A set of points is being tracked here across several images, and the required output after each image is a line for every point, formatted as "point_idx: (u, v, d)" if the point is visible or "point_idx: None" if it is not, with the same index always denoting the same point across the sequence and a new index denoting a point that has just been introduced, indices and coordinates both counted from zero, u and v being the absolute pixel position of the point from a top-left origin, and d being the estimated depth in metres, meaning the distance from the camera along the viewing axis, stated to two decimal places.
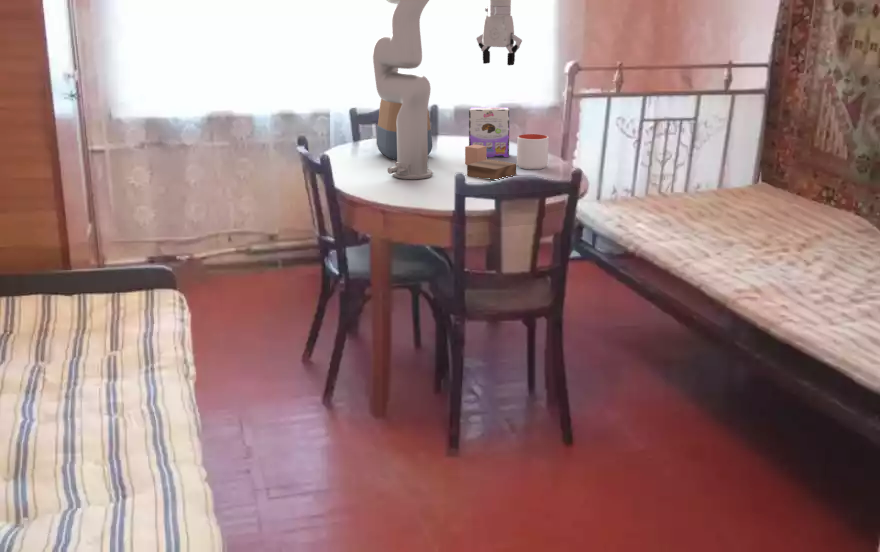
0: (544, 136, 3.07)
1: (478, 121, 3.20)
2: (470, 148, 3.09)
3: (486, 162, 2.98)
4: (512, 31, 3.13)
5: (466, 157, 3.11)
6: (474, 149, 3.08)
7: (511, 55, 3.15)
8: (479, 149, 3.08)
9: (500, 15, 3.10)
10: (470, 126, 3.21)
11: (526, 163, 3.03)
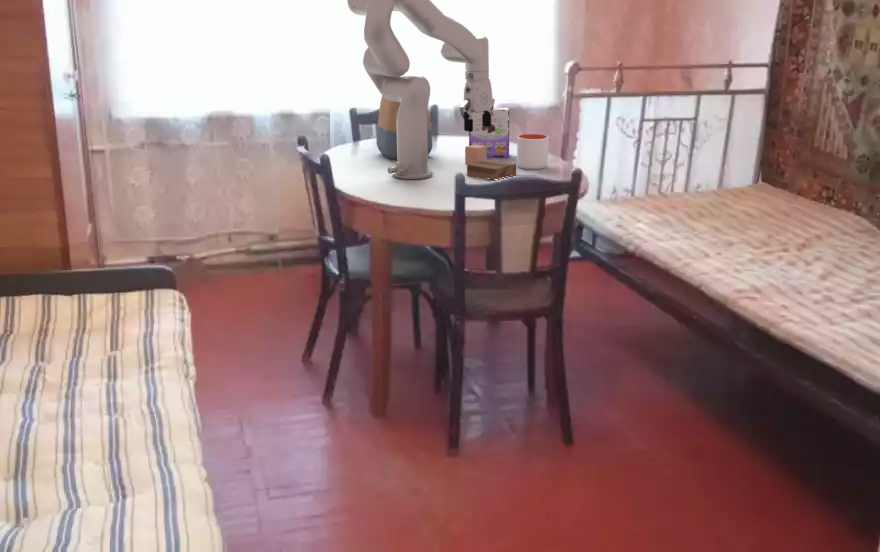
0: (544, 136, 3.07)
1: (478, 121, 3.20)
2: (470, 148, 3.09)
3: (486, 162, 2.98)
4: None
5: (466, 157, 3.11)
6: (474, 149, 3.08)
7: None
8: (479, 149, 3.08)
9: (488, 78, 3.04)
10: None
11: (526, 163, 3.03)
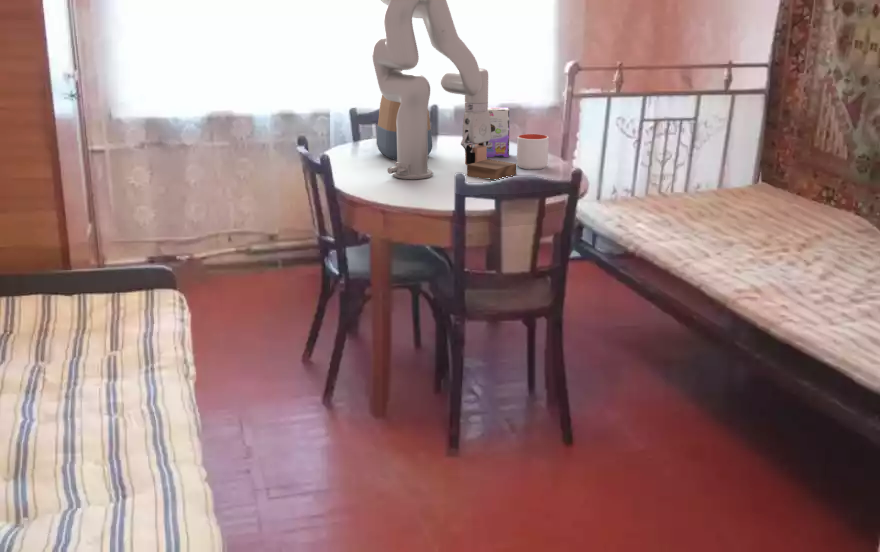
0: (544, 136, 3.07)
1: None
2: None
3: (486, 162, 2.98)
4: None
5: None
6: (474, 149, 3.08)
7: None
8: (479, 149, 3.08)
9: (487, 110, 3.07)
10: None
11: (526, 163, 3.03)
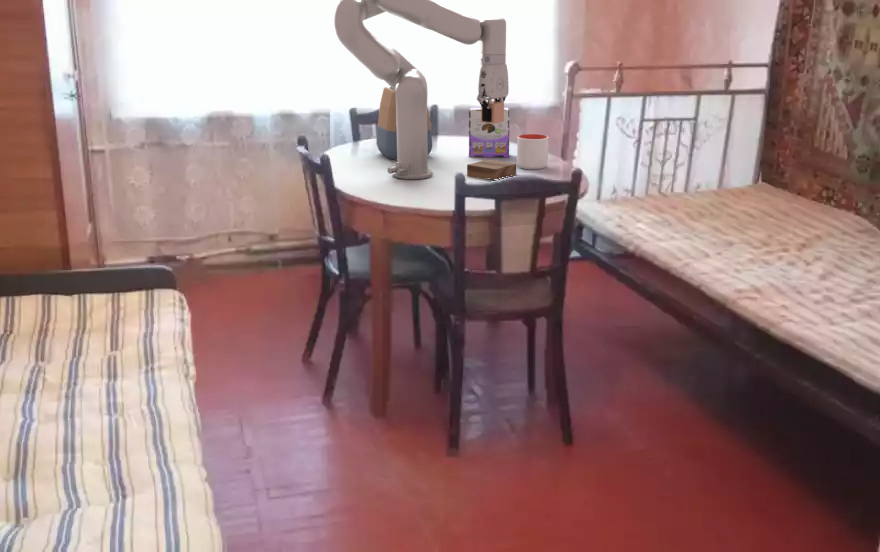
0: (544, 136, 3.07)
1: (478, 121, 3.20)
2: None
3: (486, 162, 2.98)
4: None
5: None
6: (491, 105, 2.87)
7: None
8: (496, 105, 2.88)
9: (505, 63, 2.86)
10: (470, 126, 3.21)
11: (526, 163, 3.03)
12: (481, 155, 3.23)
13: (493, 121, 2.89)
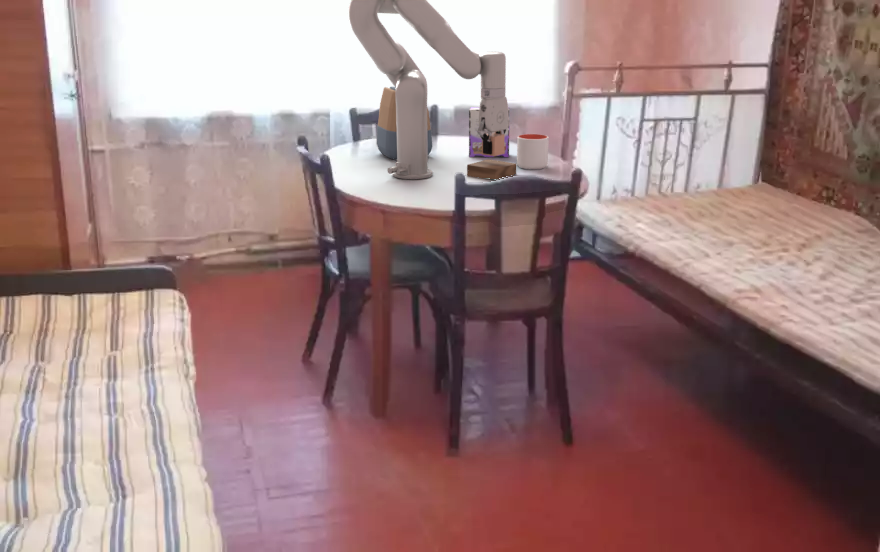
0: (544, 136, 3.07)
1: (478, 121, 3.20)
2: None
3: (486, 162, 2.98)
4: None
5: None
6: (491, 138, 2.90)
7: None
8: (497, 137, 2.90)
9: None
10: (470, 126, 3.21)
11: (526, 163, 3.03)
12: (481, 155, 3.23)
13: (494, 153, 2.91)
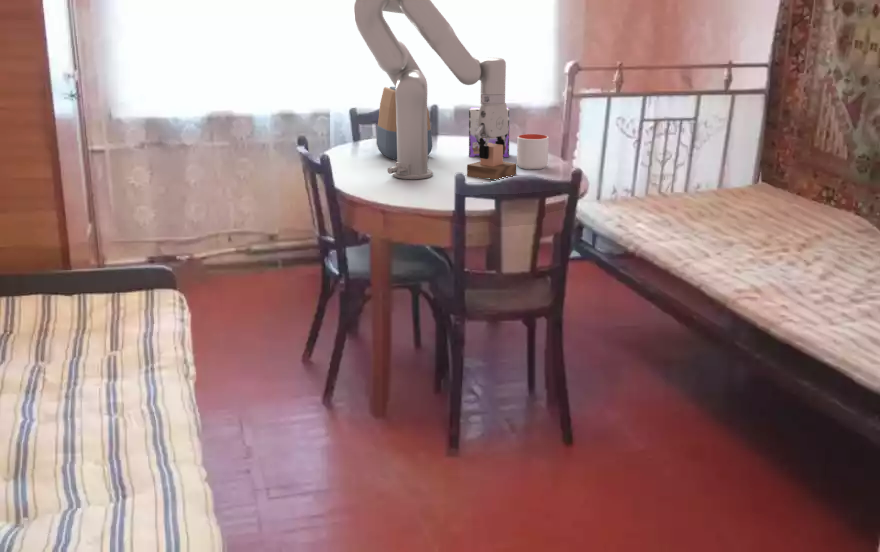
0: (544, 136, 3.07)
1: None
2: None
3: None
4: None
5: None
6: (490, 148, 2.91)
7: None
8: (495, 148, 2.91)
9: None
10: (470, 126, 3.21)
11: (526, 163, 3.03)
12: None
13: (492, 164, 2.92)
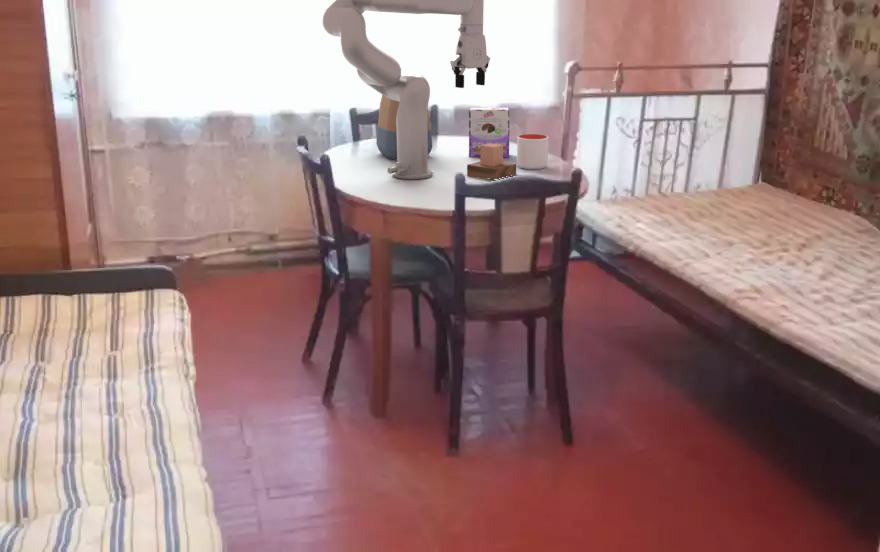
0: (544, 136, 3.07)
1: (478, 121, 3.20)
2: (486, 147, 2.92)
3: None
4: None
5: (481, 156, 2.94)
6: (490, 148, 2.91)
7: None
8: (495, 148, 2.91)
9: (482, 34, 2.94)
10: (470, 126, 3.21)
11: (526, 163, 3.03)
12: None
13: (492, 164, 2.92)
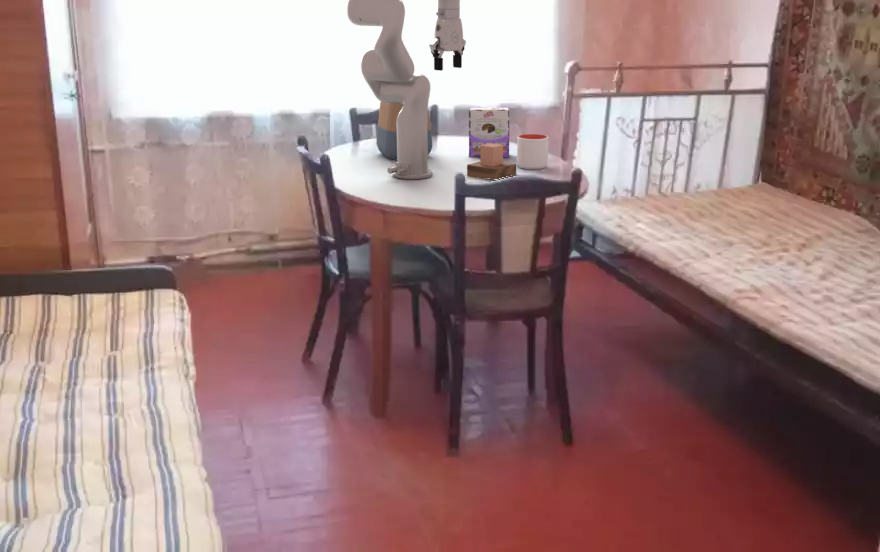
0: (544, 136, 3.07)
1: (478, 121, 3.20)
2: (486, 147, 2.92)
3: None
4: None
5: (481, 156, 2.94)
6: (490, 148, 2.91)
7: None
8: (495, 148, 2.91)
9: (459, 17, 3.04)
10: (470, 126, 3.21)
11: (526, 163, 3.03)
12: None
13: (492, 164, 2.92)
